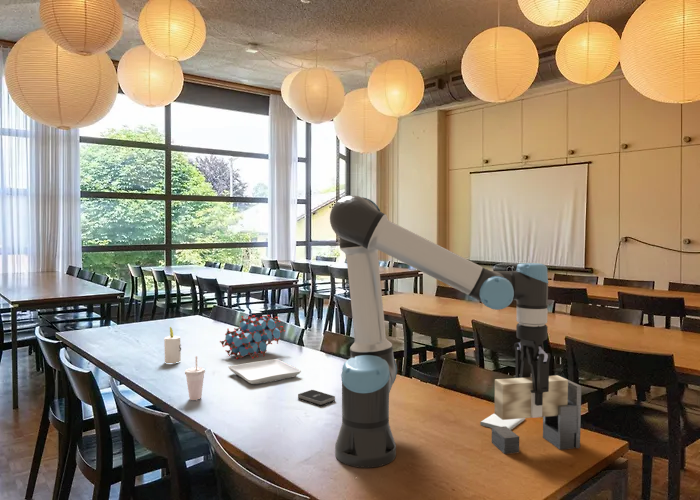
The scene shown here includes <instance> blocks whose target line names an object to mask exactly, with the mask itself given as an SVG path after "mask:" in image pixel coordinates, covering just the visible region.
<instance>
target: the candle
mask: <svg viewBox="0 0 700 500" xmlns="http://www.w3.org/2000/svg"><path fill="white" fill-rule="evenodd" d="M181 346H182V344H181V336H179V335H174V330H173V328H172V326H169V335H168V336H165V337H164V346H163V347H164V363H165V362H166V363H176V362H179V361H181V355H182V354H181V352H182V347H181Z"/></svg>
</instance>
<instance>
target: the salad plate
mask: <svg viewBox="0 0 700 500" xmlns="http://www.w3.org/2000/svg"><path fill="white" fill-rule="evenodd" d="M228 369H229V370H230V371H231V372H232V373H233V374H235V375H237V376H238V377H240V378H242V379H243V380H245V381H246V382H248V383H249V384H250V385H259V383H261V384H265V383H264V382H266V383H270V381H272V382H276V381H275V380H277V381H281V380H280V379H282V380H286V379H285V378H287V379H290V378H294V377H297V376H298V375H299V374H300V373H302V370H301V369H299V368H296V367H294V366H292V365H290V364H288V363H286V362H284V361H282V360H280V359H277V358H274V359H266V360H260V361H252V362H247V363H246V362H245V363H241V364H234V365H230V366H228Z"/></svg>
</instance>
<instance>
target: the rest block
mask: <svg viewBox="0 0 700 500" xmlns="http://www.w3.org/2000/svg"><path fill="white" fill-rule="evenodd" d="M491 444H493V445H494V447H496V448H497V449H498V450H499V451H500V452H502V454H504V455H507V454H508V455H509V454H519V453H520V436H519V435H518V434H516V433H515V432H513V431H512V430H510V429H509V428H507V427H506V426H503V427H492V428H491Z"/></svg>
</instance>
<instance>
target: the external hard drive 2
mask: <svg viewBox="0 0 700 500" xmlns="http://www.w3.org/2000/svg"><path fill="white" fill-rule="evenodd" d="M525 420H526V418H521V419H508V420H502V419H501V418H499V417H498V416H497V415H496V414H495V412H494V413H492V414H491V415H488V416H487V417H486V418H484V419H483V420H481V421H480V422H479V423H480V426H483V427H486V428H491V429H492V427H503V426H506V427H507V428H509V429H510V430H511V431H512V430H513V429H514V428H516V427H517V426H519V424H521V423H522V422H524V421H525Z"/></svg>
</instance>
